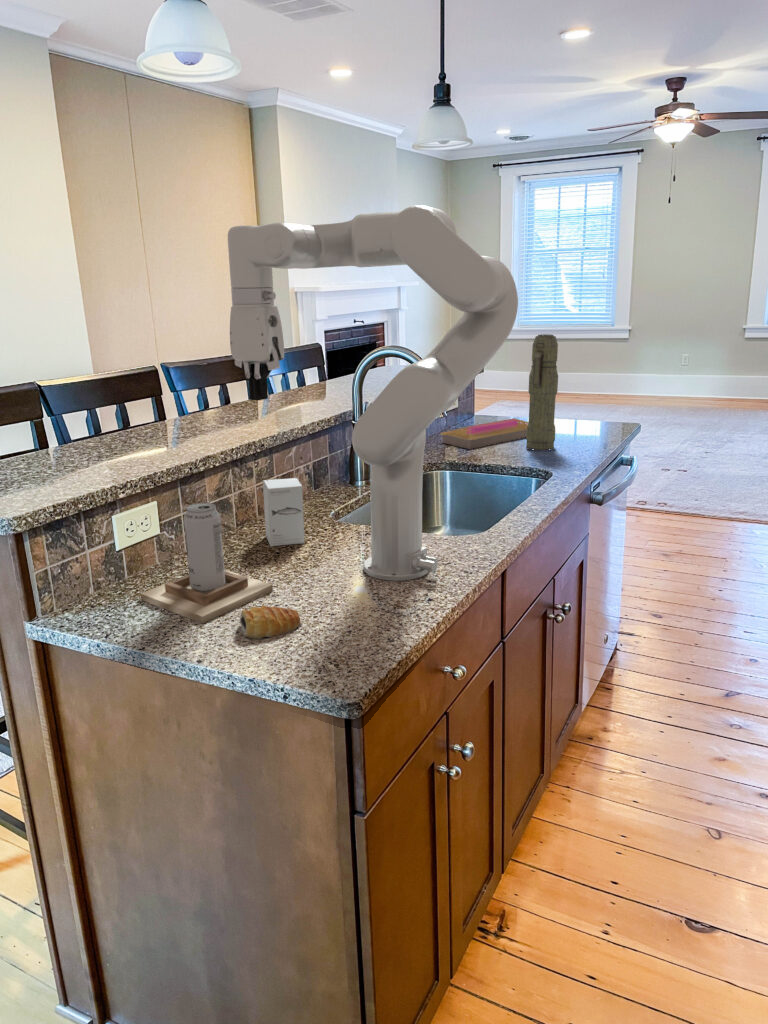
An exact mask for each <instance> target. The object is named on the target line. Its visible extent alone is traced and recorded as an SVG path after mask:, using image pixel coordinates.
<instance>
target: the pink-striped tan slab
mask: <svg viewBox="0 0 768 1024" xmlns="http://www.w3.org/2000/svg"><path fill="white" fill-rule="evenodd" d="M528 424H529V421H526V420H522V419H518V418H508V419H502V420H497V421H493V422H487V423H485V422H484V423H481V424H475V425H469V426H465V427H460V428H456V429H452V430H448V431H443V432H440V433H439V434H438V435H441V436H442V443H443V444H447V445H450V446H454V447H458V448H463V449H467V450H472V449H477V448H481V447H482V446H483V447H487V446H486V445H488V446H492V445H491V444H493V445H497V444H496V443H498V444H502V443H501V442H503V443H506V441H508V442H511V440H513V441H516V439H518V440H521V439H520V438H522V439H526V438H525V437H526V431H527V426H528ZM483 447H482V448H483Z"/></svg>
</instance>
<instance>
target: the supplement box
mask: <svg viewBox="0 0 768 1024" xmlns="http://www.w3.org/2000/svg"><path fill="white" fill-rule="evenodd" d="M262 489H263V491H262V492H263V506H264V507H263V509H264V523H265V525H264V526H265V537H266V539H267V541H268V544H269V546H270V547H271V548H273V547H277V546H285V545H286V546H287V545H296V544H299V545H300V544H305V541H306V540H305V539H306V538H305V521H304V520H305V519H304V496H303V492H304V491H303V485H302V483H301V482H300V481H299V479H298V478H297V477H292V478H276V479H265V480H263V479H262Z"/></svg>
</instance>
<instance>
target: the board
mask: <svg viewBox="0 0 768 1024" xmlns="http://www.w3.org/2000/svg"><path fill="white" fill-rule="evenodd" d="M224 571H225V584H224V585H223V586H222V587H219V588H217V589H215V590H212V591H210V592H207V593H205V594H202V593H200V592H197V591H194V589H192V588H191V587H190V579H189V574H187V575H183V576H182V577H179V578H175V579H174V580H171V581H169V582H165V583H164V584H162V585H158V586H156V587H154V588H151V589H149V590H146V591H143V592H141V593H140V595H139V596H140V601H142V602H146V603H147V604H149V605H153V606H155V607H159V608H161V609H164V610H166V611H168V612H172V613H174V614H177V615H180V616H182V617H185V618H188V619H191V620H193V621H195V622H198V623H201V624H204V623H206V622H209V621H211V620H213V619H215V618H217V617H219V616H221V615H224V614H226V613H228V612H230V611H232V610H235V609H237V608H239V607H241V606H244V605H245V604H247V603H249V602H252V601H254V600H255V599H259V598H260V597H263V596H265V595H267V594H269V593H272V592H273V590H274V588H273V587H274V586H273V584H271V583H269V582H265V581H262V580H259V579H256V578H252V577H249V576H246V575H243V574H240V573H236V572H233V571H231V570H227V569H224Z"/></svg>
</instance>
